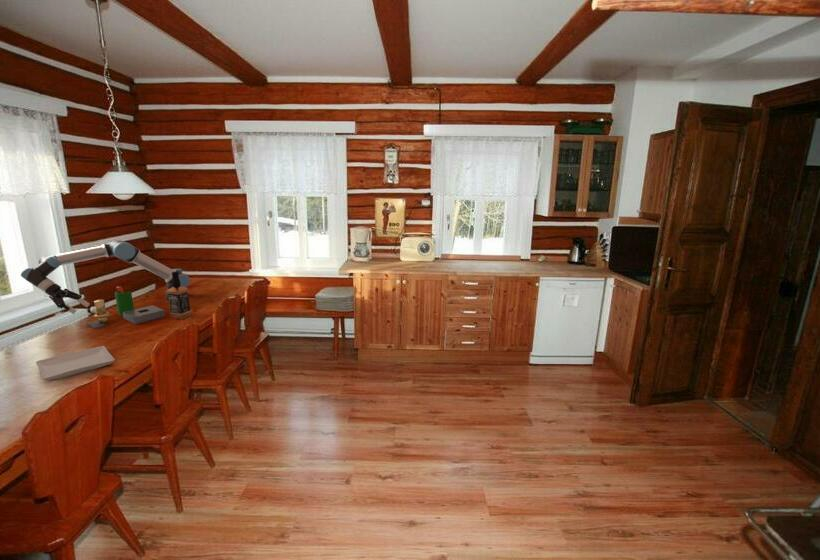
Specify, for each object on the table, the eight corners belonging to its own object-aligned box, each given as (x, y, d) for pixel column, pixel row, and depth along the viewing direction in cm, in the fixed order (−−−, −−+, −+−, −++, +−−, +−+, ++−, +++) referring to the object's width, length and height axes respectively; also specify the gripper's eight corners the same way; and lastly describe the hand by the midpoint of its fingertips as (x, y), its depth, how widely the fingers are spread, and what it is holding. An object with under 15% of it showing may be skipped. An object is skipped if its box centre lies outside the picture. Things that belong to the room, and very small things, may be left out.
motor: (138, 311, 276) (133, 284, 271) (128, 315, 267) (123, 287, 262) (125, 311, 277) (120, 284, 272) (114, 315, 268) (109, 287, 263)
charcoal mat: (112, 318, 262) (111, 317, 262) (120, 322, 254) (120, 321, 254) (86, 324, 251) (86, 323, 250) (94, 328, 243) (94, 327, 243)
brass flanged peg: (108, 319, 258) (104, 298, 254) (113, 321, 253) (108, 300, 249) (93, 322, 251) (89, 301, 247) (98, 325, 247) (93, 303, 243)
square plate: (116, 366, 195) (115, 359, 194) (43, 386, 176) (41, 378, 175) (104, 350, 213) (103, 344, 212) (37, 367, 193) (35, 360, 192)
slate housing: (153, 313, 273) (152, 305, 271) (165, 318, 263) (164, 310, 261) (124, 320, 258) (122, 311, 257) (135, 326, 248) (134, 317, 247)
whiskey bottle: (169, 318, 262) (162, 272, 254) (181, 314, 271) (175, 269, 264) (181, 320, 259) (174, 274, 251) (193, 315, 268) (187, 270, 261)
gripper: (59, 286, 254) (89, 307, 260) (30, 297, 230) (65, 319, 236) (66, 278, 253) (97, 299, 260) (39, 288, 229) (73, 311, 236)
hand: (82, 309), depth 248 cm, fingers open, 13 cm apart
